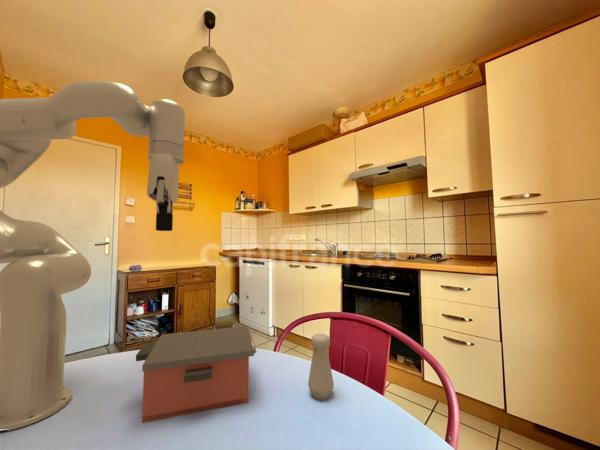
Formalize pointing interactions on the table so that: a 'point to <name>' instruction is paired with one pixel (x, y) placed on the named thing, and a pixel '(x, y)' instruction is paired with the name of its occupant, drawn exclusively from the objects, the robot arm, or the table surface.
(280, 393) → the table surface
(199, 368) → the orange wooden open box
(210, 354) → the grey box lid
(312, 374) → the salt shaker
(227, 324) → the cork
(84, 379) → the table surface
